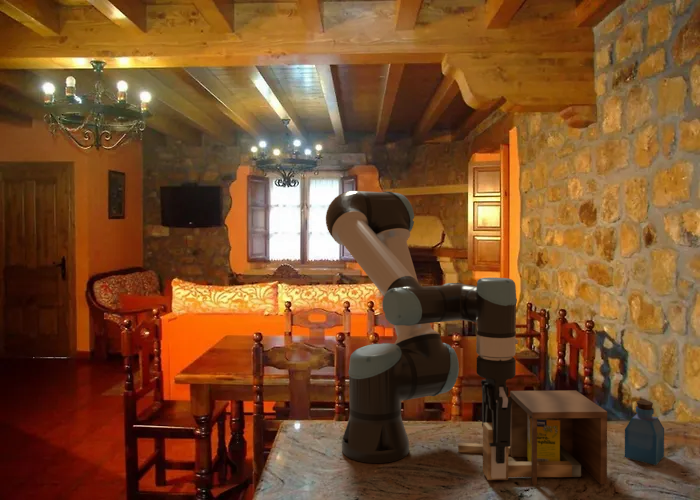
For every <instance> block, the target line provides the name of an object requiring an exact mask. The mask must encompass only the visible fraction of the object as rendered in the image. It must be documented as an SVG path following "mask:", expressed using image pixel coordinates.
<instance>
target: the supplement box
mask: <svg viewBox="0 0 700 500" xmlns="http://www.w3.org/2000/svg"><path fill="white" fill-rule="evenodd" d="M526 460H527V461H526V462H532V418H531V417H530V416H529V415H528V414H527V457H526ZM537 461H560V420H559V418H537Z"/></svg>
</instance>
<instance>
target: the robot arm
mask: <svg viewBox="0 0 700 500" xmlns="http://www.w3.org/2000/svg"><path fill="white" fill-rule="evenodd" d="M414 218H415V213H414V208H413V205H412V203H411V202H410V200H409V199H408V198H407V197H406V196H405V195H403V194H402V193H399V192H392V191H365V190H363V191H362V190H361V191H360V190H348V191H345V192H343V193H341V194H338V195H337V196H336V197H334V199H332V200H331V202H330V204H329V205H328V208H327V210H326V213H325V224H326V228H327V231H328V233H329V235H330V237H332V239H333V240H334V241H335V242H336V243H337V244H339V245H341V246H343V247H345V248H346V251H348V253H349V254H350V255H351V256H352V258H353V259H354V260H355V262H357V264H358V265H359V266H360V268H361V269H362V271H364V273H365V274H366V276H367V277H368V278H369V279H370V280H371V282H372V283H373V284H374V286H375V287H376V288H377V290H379V292H380V294H381V295H382V296H383V298H382V312H383V313H384V317H385V319H386V321H387V322H388V323H389V324H391V325H393V326H394V329H395V330H394V331H395V334H396V336H397V337H396V340H395V342H393V343H389V342H388V343H387V342H384V343H373V344H368V345H365V346H362V347H359V348H356V349H355V350H354V351H352V353H351V354H350V355H349V357H350V358H349V366H348V367H349V368H348V371H347V373H348V376H349V377H348V383H349V384H348V387H349V389H348V390H349V395H348V396H349V418H348V421H347V424H346V425H345V430H344V433H343V436H342V442H341V452H342V454H343V455H344V456H345V457H347V458H348V459H350V460H353V461H357V462H361V463H367V464H368V463H369V464H385V463H386V464H387V463H392V462H396V461H399V460H402V459H403V458H405V457H406V456H408V454H409V452H410V440H409V437H408V434H407V431H406V427H405V426H404V425H405V424H404V422H403V419H402V401H408V400H414V399H420V398H425V397H430V396H431V397H435V396H439V395H440V394H441V395H442V394H446V393H449V391H450V390H452V389H453V388H454V387H455V384H456V382H457V379H458V376H459V371H460V366H459V363H460V362H459V359H458V355H457V353H456V350H455V349H454V348H453V347H452V346H451V345H450V344H448V343H445V342H443V341H442V337H441V334H440V332H439V331H436V330H434V329H433V328H432V323H442V322H453V321H466V322H471V323H476V334H475V335H476V338H475V339H476V340H475V341H476V344H475V345H476V348H475V349H476V350H475V352H476V354H477V355H478V356H477V357H476V374H477V376H479V377H481V378H483V379H482V380H480V384H481V401H482V403H481V413H482V414H481V415H482V416H481V422H482V423H481V427H482V428H483V423H492V429H493V443H489V445H490V447H491V478H492V479H506V447H510V425H511V405H512V398H511V397H510V392H509V387H508V386H507V381H508V380H511V379H514V378H515V376H516V374H517V372H516V368H517V366H516V365H517V363H516V362H517V361H516V358H515V356H516V345H517V344H518V343H519V340H518V339H517V338H516V336H517V332H516V330H517V329H516V328H517V325H516V324H517V303H518V300H517V299H518V298H517V290H516V289H517V287H516V283H515V281H514V280H513V279H512V278H508V277H480V278H479V279H477V282H476V285H471V284H465V283H462V282H447V283H444V284H442V285H429V286H428V285H427V286H424V285H421V284H420V282H419V280H418V278H417V277H418V276H417V273H416V271H415V266H414V263H413V260H412V257H411V253H410V249H409V246H408V240H409V238H410V237H411V231H412V230H413V228H414V223H415V221H414Z"/></svg>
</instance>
